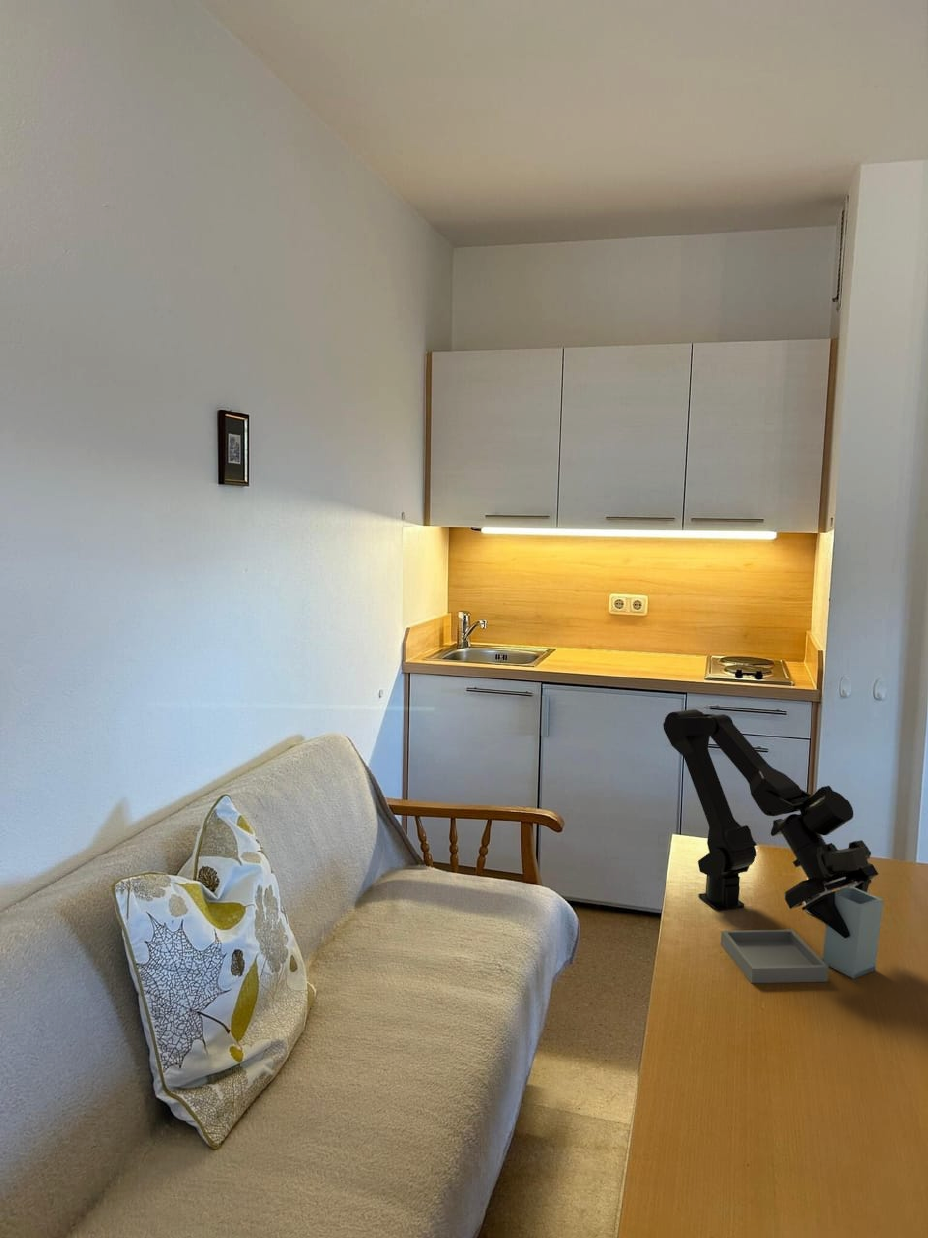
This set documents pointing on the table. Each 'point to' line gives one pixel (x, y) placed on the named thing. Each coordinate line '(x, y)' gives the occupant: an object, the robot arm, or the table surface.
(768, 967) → the shallow crate
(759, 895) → the table surface
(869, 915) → the slim crate
